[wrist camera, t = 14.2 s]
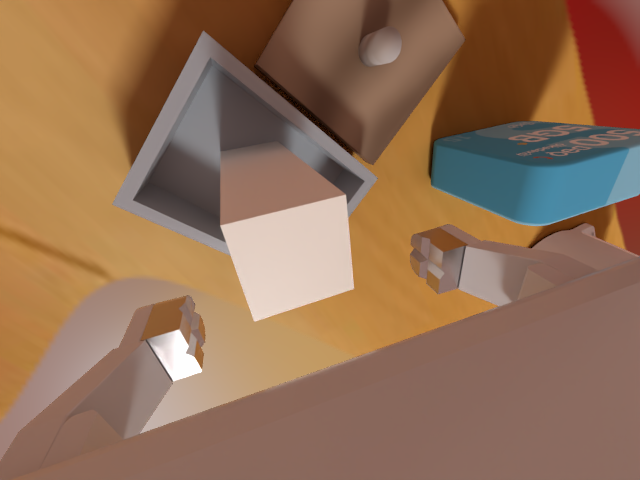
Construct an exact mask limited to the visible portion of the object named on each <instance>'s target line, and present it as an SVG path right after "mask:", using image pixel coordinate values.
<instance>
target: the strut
mask: <svg viewBox="0 0 640 480" xmlns="http://www.w3.org/2000/svg"><path fill="white" fill-rule="evenodd" d="M220 226H221V229H222V232H223V235H224V238H225V240H226V243H227V246H228V249H229V252H230V255H231V257H232V260H233V263H234V266H235V269H236V271H237V274H238V277H239V280H240V283H241V285H242V288H243V291H244V294H245V297H246V299H247V302H248V305H249V308H250V311H251V314H252V316H253V319H254V321H258V320H261V319H264V318H267V317H270V316H273V315H276V314H279V313H282V312H285V311H288V310H291V309H294V308H297V307H300V306H303V305H306V304H309V303H312V302H316V301H319V300H322V299H325V298H328V297H331V296H334V295H337V294H340V293H343V292H346V291H349V290H352V289H354V283H353V272H352V260H351V248H350V236H349V224H348V212H347V200H346V194H345V193H343V192H342V191H341V190H339V189H338V188H337V187H336V186H334V185H333V184H332V183H330V182H329V181H328V180H327V179H325V178H324V177H323V176H321V175H320V174H319V173H318V172H316V171H315V170H314V169H312V168H311V167H310V166H309V165H307V164H306V163H305V162H303V161H302V160H301V159H300V158H298V157H297V156H296V155H295V154H293V153H292V152H291V151H289V150H288V149H287V148H286V147H284V146H283V145H282V144H280V143H279V142H278V141H274V142H268V143H263V144H258V145H253V146H247V147H242V148H237V149H232V150H226V151H221V152H220Z"/></svg>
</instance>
